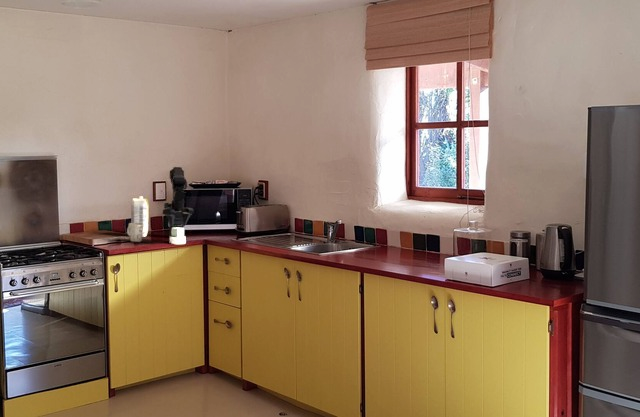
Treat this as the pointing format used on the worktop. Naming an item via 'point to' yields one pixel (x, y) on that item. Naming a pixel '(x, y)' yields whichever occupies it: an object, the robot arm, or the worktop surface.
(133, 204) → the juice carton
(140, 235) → the mug
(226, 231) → the worktop surface
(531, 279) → the worktop surface
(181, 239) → the cream tin
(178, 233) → the white cube
